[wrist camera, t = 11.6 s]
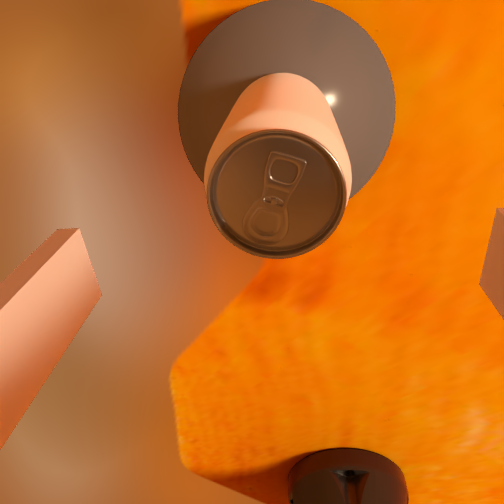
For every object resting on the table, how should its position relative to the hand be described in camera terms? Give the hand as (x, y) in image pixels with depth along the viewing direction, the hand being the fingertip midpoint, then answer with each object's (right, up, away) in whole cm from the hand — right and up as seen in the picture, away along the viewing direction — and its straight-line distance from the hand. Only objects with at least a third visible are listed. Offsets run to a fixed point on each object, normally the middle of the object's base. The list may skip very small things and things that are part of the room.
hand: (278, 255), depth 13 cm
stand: (+2, +10, +17) cm, 20 cm away
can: (+1, +9, +13) cm, 16 cm away
